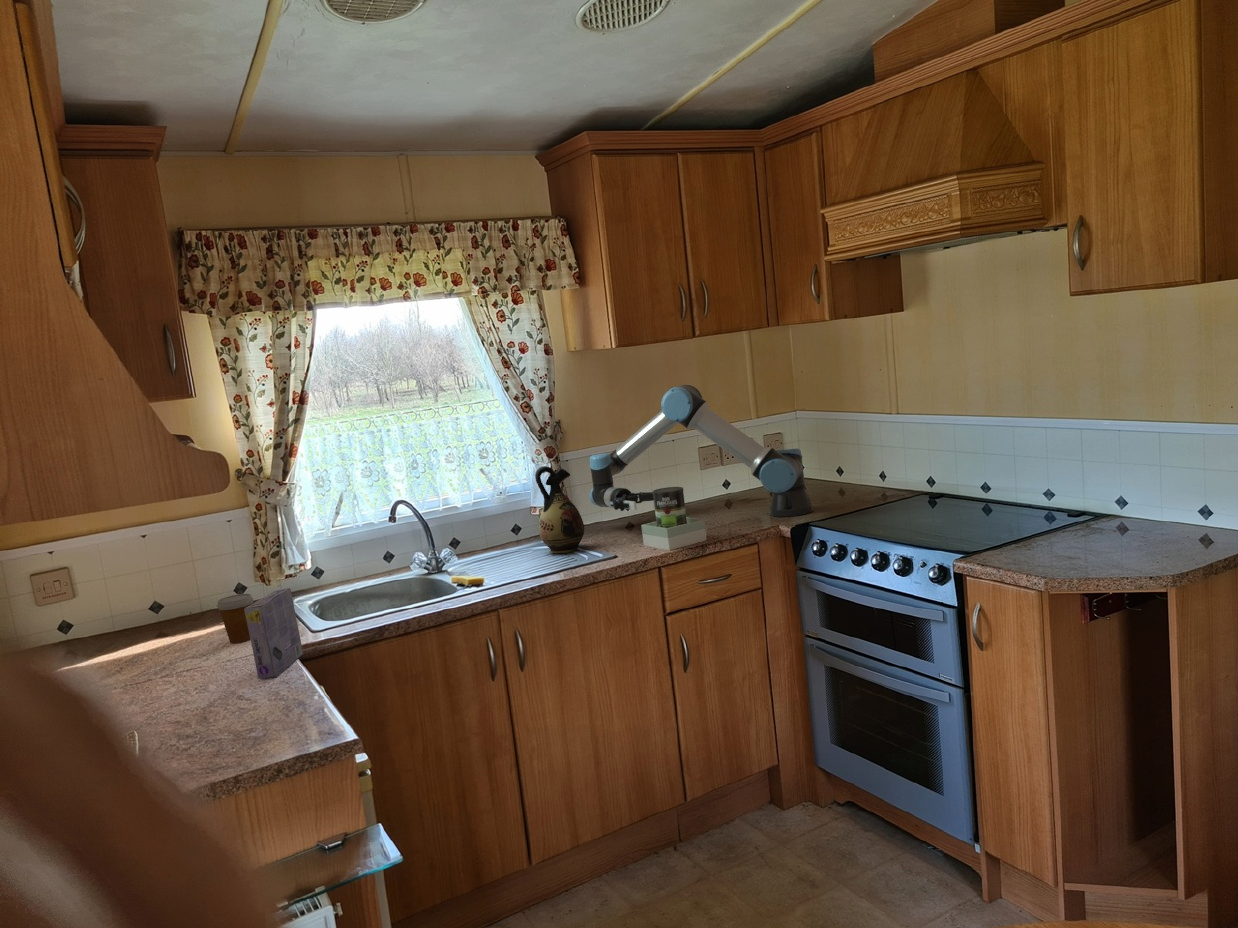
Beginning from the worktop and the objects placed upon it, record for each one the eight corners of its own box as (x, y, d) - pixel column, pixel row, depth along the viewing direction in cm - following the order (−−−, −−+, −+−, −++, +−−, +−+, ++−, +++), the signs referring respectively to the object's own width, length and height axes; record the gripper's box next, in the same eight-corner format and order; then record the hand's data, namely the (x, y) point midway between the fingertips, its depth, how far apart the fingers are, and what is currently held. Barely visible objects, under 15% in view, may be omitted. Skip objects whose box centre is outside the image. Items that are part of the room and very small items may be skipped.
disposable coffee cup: (231, 647, 256) (223, 604, 255) (218, 642, 263) (210, 600, 262) (265, 636, 262) (258, 594, 261) (252, 632, 269) (244, 591, 268)
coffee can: (685, 533, 308) (680, 490, 307) (654, 535, 311) (649, 493, 309) (690, 526, 318) (685, 485, 317) (660, 529, 321) (655, 488, 319)
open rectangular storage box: (679, 535, 325) (677, 516, 324) (706, 540, 313) (704, 519, 312) (643, 545, 318) (641, 525, 317) (669, 550, 305) (666, 529, 304)
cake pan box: (287, 655, 241) (275, 587, 239) (306, 652, 241) (294, 585, 239) (255, 681, 222) (242, 608, 220) (276, 678, 222) (263, 605, 220)
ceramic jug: (576, 543, 336) (564, 460, 333) (593, 549, 322) (581, 462, 319) (531, 553, 329) (519, 468, 326) (547, 559, 315) (534, 471, 312)
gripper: (648, 501, 347) (682, 505, 330) (590, 515, 335) (622, 520, 317) (646, 481, 347) (680, 484, 329) (587, 494, 334) (619, 498, 316)
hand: (651, 502), depth 323 cm, fingers open, 13 cm apart
